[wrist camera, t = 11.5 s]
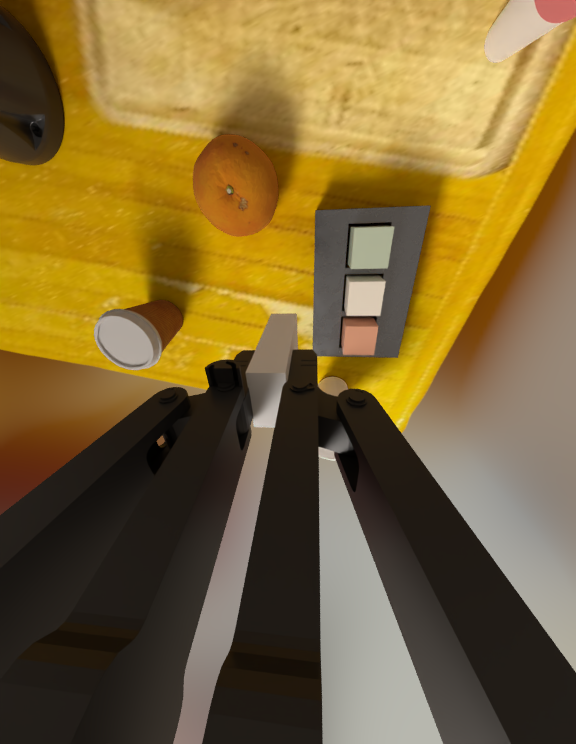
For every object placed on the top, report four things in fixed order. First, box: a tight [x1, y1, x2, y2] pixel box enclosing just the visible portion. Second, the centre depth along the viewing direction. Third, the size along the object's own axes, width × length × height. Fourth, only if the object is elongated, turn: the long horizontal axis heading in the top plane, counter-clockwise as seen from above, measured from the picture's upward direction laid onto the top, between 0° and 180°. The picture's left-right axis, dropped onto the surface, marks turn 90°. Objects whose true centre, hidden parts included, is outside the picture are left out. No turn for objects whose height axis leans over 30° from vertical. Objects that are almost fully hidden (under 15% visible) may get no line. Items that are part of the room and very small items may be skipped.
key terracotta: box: [341, 316, 378, 355], centre depth 40 cm, size 5×5×5 cm
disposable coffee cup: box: [94, 300, 183, 370], centre depth 42 cm, size 10×10×12 cm
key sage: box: [347, 226, 394, 269], centre depth 33 cm, size 5×5×5 cm
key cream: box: [344, 274, 386, 316], centre depth 36 cm, size 5×5×5 cm
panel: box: [313, 206, 430, 358], centre depth 39 cm, size 21×14×4 cm, turn 2°
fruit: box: [193, 134, 278, 236], centre depth 32 cm, size 10×10×8 cm
